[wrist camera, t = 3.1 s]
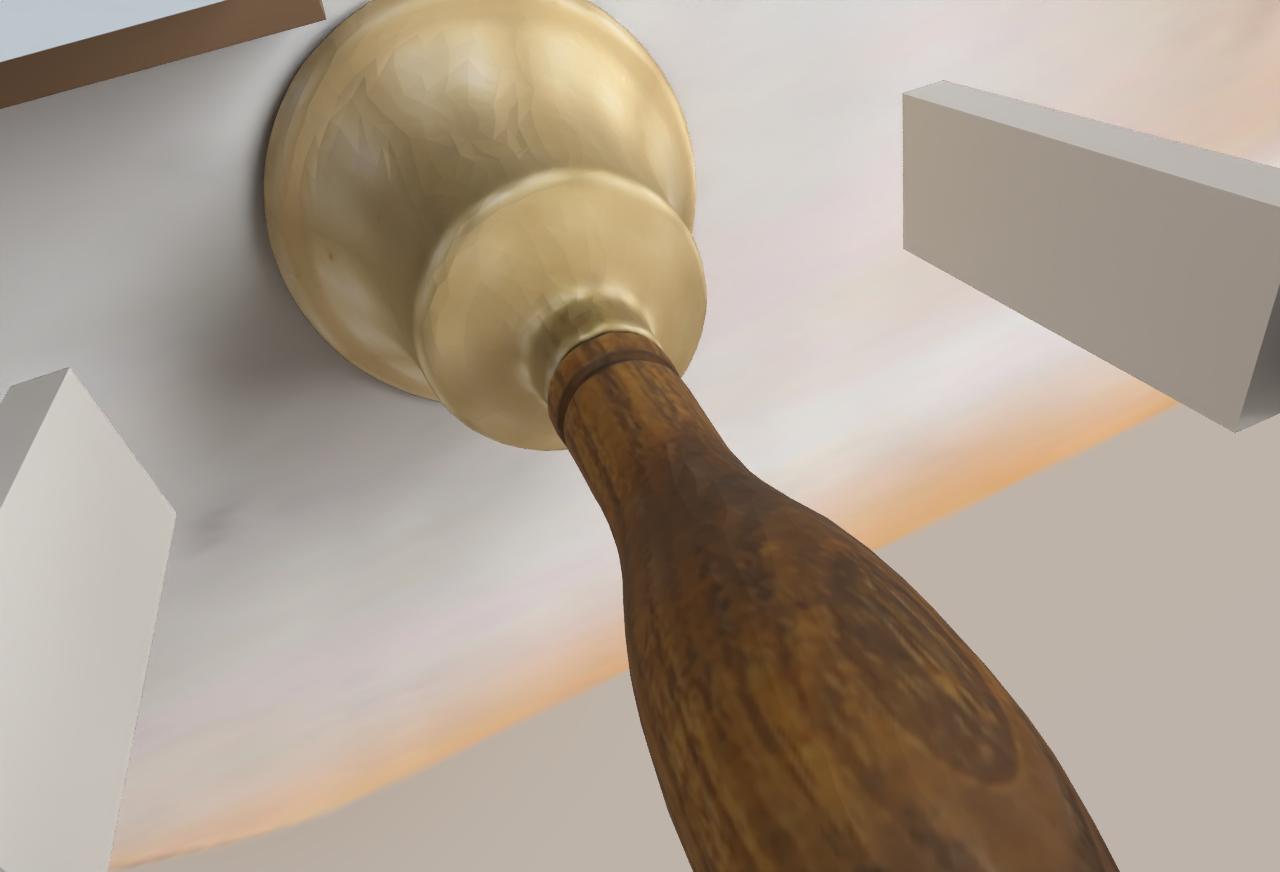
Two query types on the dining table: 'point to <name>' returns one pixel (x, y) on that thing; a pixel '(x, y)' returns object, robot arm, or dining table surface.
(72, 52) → the bottom block
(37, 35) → the top block
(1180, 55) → the dining table surface
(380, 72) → the hand bell
